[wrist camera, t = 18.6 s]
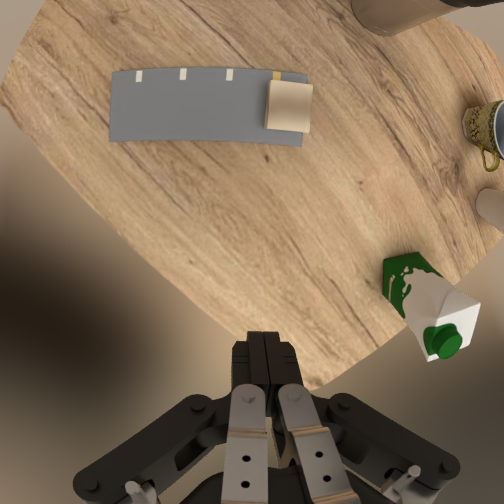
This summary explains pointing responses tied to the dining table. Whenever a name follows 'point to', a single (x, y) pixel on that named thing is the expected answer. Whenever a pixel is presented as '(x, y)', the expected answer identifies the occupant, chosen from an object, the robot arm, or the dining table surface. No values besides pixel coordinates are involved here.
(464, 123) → the ceramic cup
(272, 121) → the knob
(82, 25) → the dining table surface
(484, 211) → the dixie cup
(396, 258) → the soya milk
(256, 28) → the dining table surface
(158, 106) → the board
